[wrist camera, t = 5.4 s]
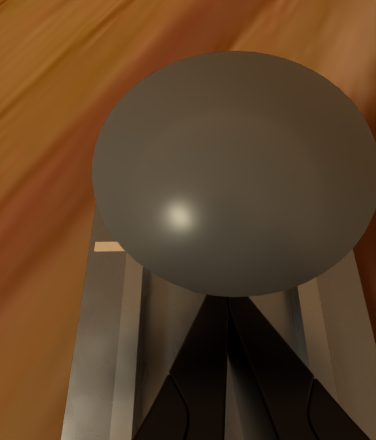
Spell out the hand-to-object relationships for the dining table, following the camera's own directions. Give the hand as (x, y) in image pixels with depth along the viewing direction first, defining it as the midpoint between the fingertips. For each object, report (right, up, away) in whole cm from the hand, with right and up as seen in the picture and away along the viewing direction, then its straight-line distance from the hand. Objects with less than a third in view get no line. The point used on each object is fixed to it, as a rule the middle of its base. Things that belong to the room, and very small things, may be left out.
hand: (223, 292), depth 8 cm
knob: (0, +1, +6) cm, 6 cm away
